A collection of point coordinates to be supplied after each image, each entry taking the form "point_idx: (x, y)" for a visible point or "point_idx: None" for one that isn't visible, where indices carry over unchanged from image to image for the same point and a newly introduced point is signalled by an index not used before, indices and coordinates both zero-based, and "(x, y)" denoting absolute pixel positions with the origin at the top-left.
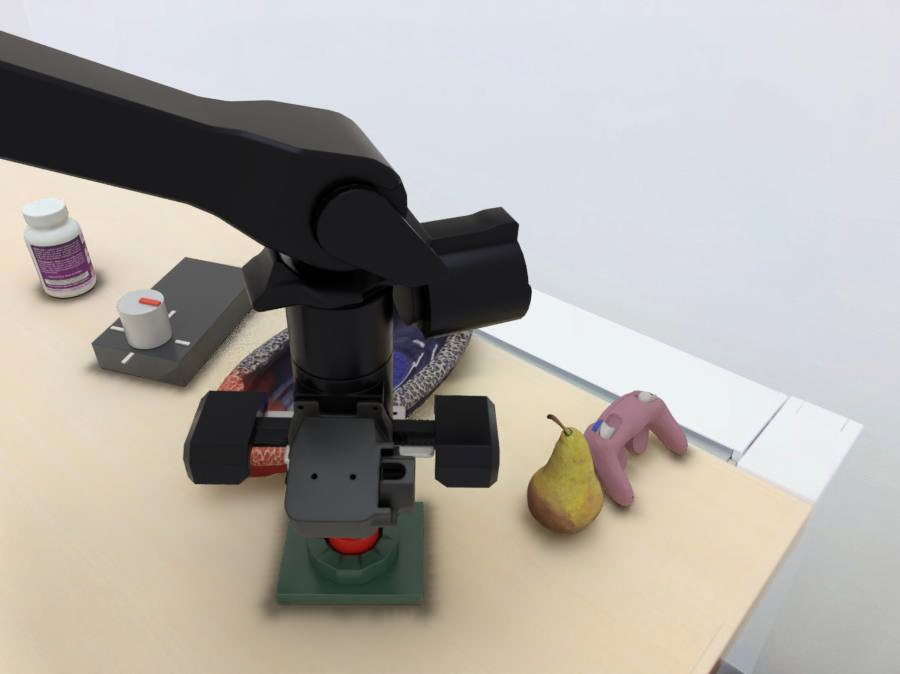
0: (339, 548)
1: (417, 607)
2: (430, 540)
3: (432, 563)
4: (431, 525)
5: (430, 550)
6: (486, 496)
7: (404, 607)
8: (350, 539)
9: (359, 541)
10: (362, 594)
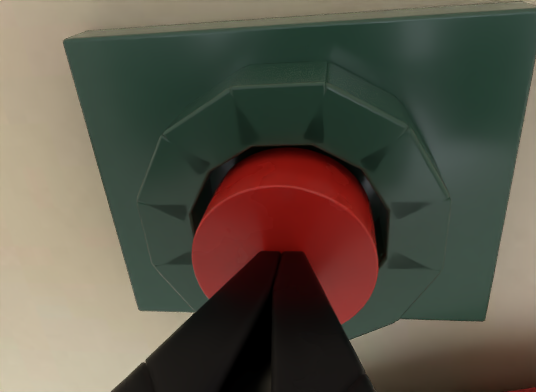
0: (325, 169)
1: (97, 21)
2: None
3: (94, 155)
4: None
5: None
6: (25, 315)
7: (132, 19)
8: (277, 195)
9: (244, 189)
10: (243, 30)
